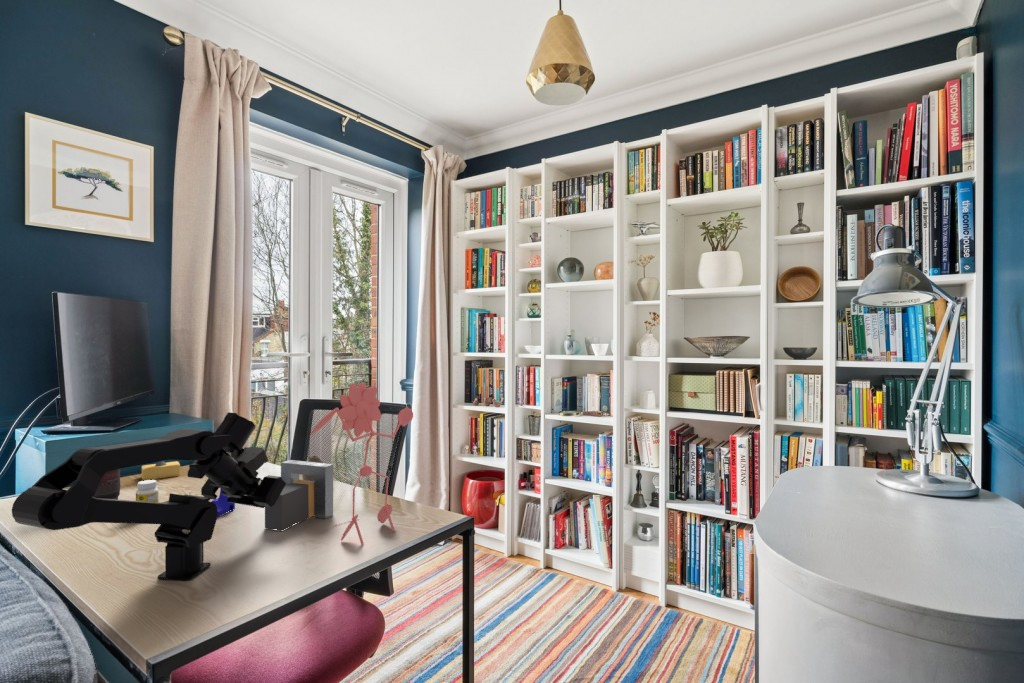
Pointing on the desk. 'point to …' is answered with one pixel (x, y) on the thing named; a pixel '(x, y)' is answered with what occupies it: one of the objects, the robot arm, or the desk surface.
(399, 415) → the figurine
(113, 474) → the camera lens
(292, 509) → the plug
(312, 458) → the vase
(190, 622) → the desk surface
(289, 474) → the frame
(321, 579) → the desk surface
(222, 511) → the cable clip
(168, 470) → the rubber stamp
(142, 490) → the supplement bottle
